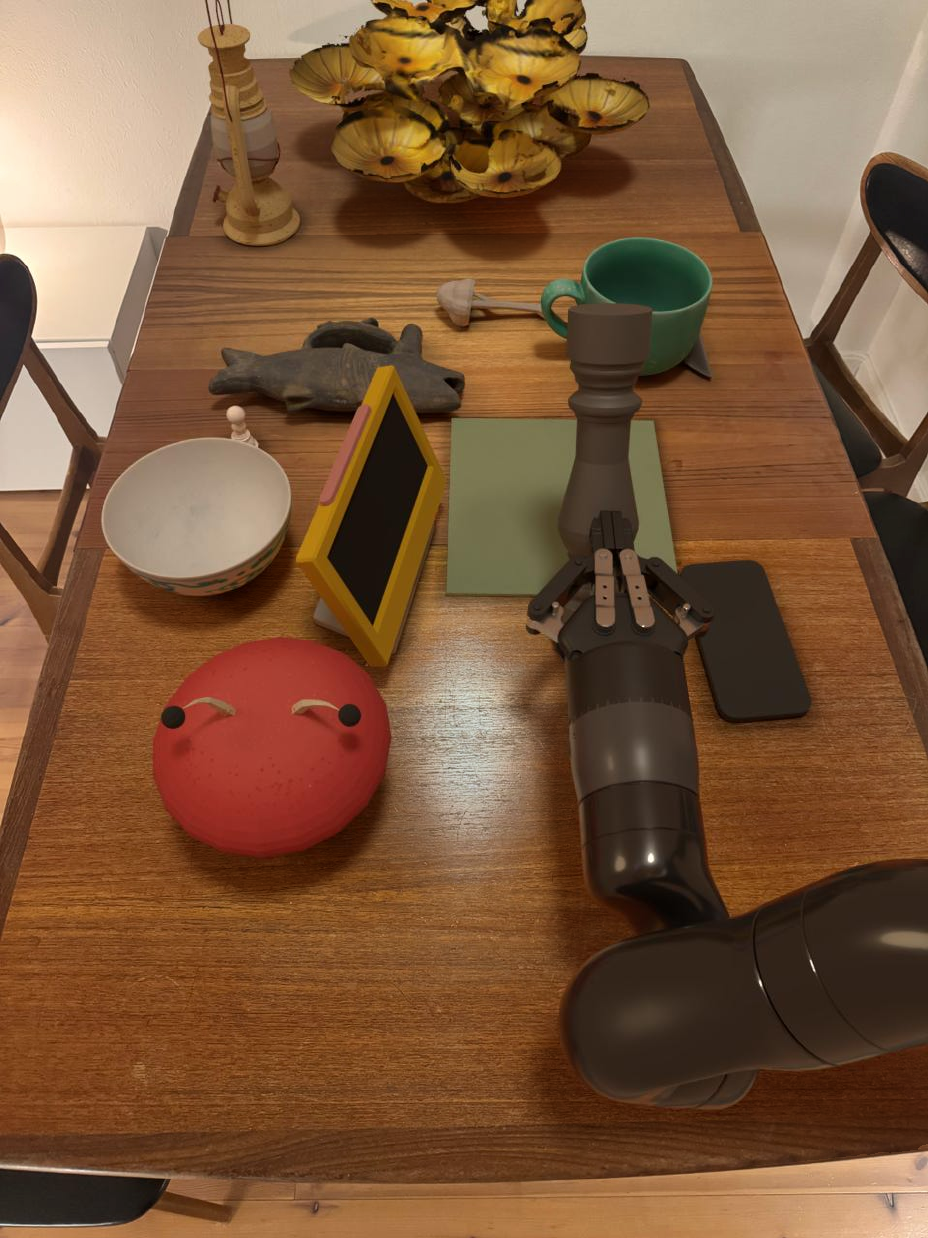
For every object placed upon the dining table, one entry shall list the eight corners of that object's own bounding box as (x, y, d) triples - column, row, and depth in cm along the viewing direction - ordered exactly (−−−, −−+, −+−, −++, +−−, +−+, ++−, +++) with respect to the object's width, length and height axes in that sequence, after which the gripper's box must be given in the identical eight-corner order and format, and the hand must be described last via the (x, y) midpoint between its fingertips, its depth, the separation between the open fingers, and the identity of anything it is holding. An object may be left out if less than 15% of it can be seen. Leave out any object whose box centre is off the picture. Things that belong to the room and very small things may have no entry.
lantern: (225, 197, 109) (156, -102, 84) (303, 196, 109) (258, -102, 85) (212, 254, 102) (133, -53, 78) (296, 252, 103) (244, -54, 78)
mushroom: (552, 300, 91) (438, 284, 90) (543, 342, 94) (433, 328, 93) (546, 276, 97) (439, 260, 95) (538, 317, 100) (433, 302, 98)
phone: (722, 719, 67) (677, 564, 75) (720, 724, 68) (675, 570, 76) (816, 711, 67) (761, 558, 76) (813, 716, 68) (758, 564, 76)
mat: (652, 423, 87) (653, 420, 86) (680, 598, 74) (681, 596, 74) (451, 420, 87) (451, 417, 86) (446, 595, 75) (446, 593, 74)
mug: (684, 316, 96) (704, 236, 88) (699, 393, 89) (722, 314, 81) (534, 313, 96) (540, 234, 89) (537, 390, 89) (544, 311, 81)
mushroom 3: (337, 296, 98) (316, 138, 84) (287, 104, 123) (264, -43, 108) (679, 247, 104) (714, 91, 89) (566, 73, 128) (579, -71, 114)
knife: (665, 297, 98) (666, 291, 97) (700, 296, 98) (702, 291, 97) (684, 380, 90) (686, 375, 89) (723, 380, 90) (725, 375, 90)
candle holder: (614, 659, 67) (638, 318, 56) (540, 641, 70) (549, 312, 58) (641, 625, 72) (668, 305, 60) (571, 609, 75) (584, 300, 63)
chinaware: (295, 487, 82) (281, 425, 75) (314, 616, 73) (300, 559, 67) (131, 512, 80) (102, 451, 73) (131, 648, 71) (99, 592, 65)
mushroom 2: (167, 898, 60) (91, 815, 48) (198, 697, 69) (141, 583, 56) (397, 890, 60) (381, 806, 48) (398, 691, 69) (385, 577, 57)
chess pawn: (223, 448, 84) (210, 409, 80) (246, 433, 86) (235, 394, 81) (241, 463, 83) (230, 424, 79) (264, 447, 84) (254, 408, 80)
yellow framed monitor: (390, 690, 69) (373, 568, 56) (295, 671, 70) (258, 547, 57) (448, 505, 80) (445, 368, 67) (365, 491, 81) (347, 353, 68)
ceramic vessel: (459, 396, 81) (474, 312, 91) (195, 371, 82) (238, 291, 92) (457, 440, 85) (472, 355, 95) (205, 416, 86) (246, 335, 96)
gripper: (757, 707, 50) (712, 483, 60) (527, 704, 50) (520, 480, 60) (723, 762, 57) (688, 551, 66) (519, 759, 57) (513, 548, 66)
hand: (608, 517), depth 63 cm, fingers closed
